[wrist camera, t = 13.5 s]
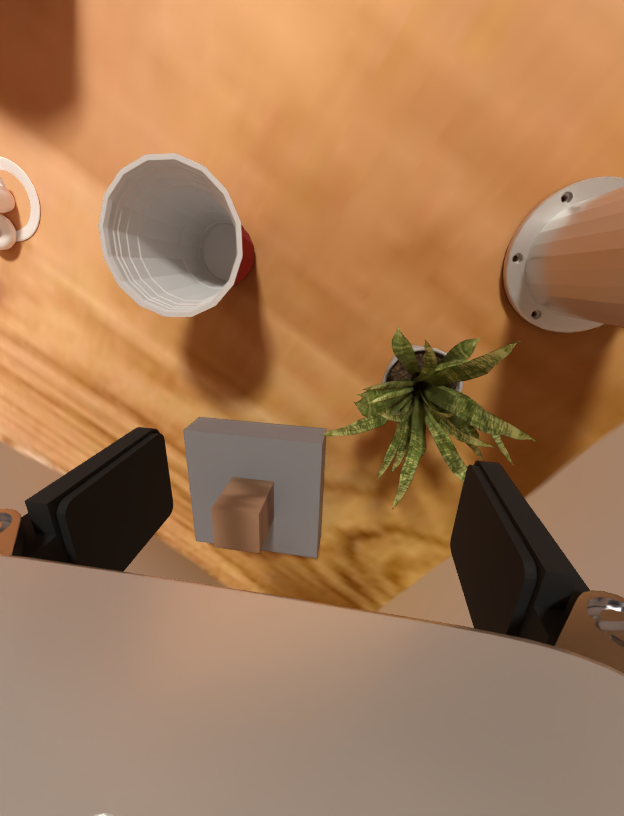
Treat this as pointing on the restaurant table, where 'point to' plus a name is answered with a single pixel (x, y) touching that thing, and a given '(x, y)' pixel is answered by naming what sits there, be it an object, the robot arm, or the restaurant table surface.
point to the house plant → (430, 406)
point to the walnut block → (243, 514)
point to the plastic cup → (173, 235)
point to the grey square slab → (260, 476)
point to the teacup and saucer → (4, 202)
